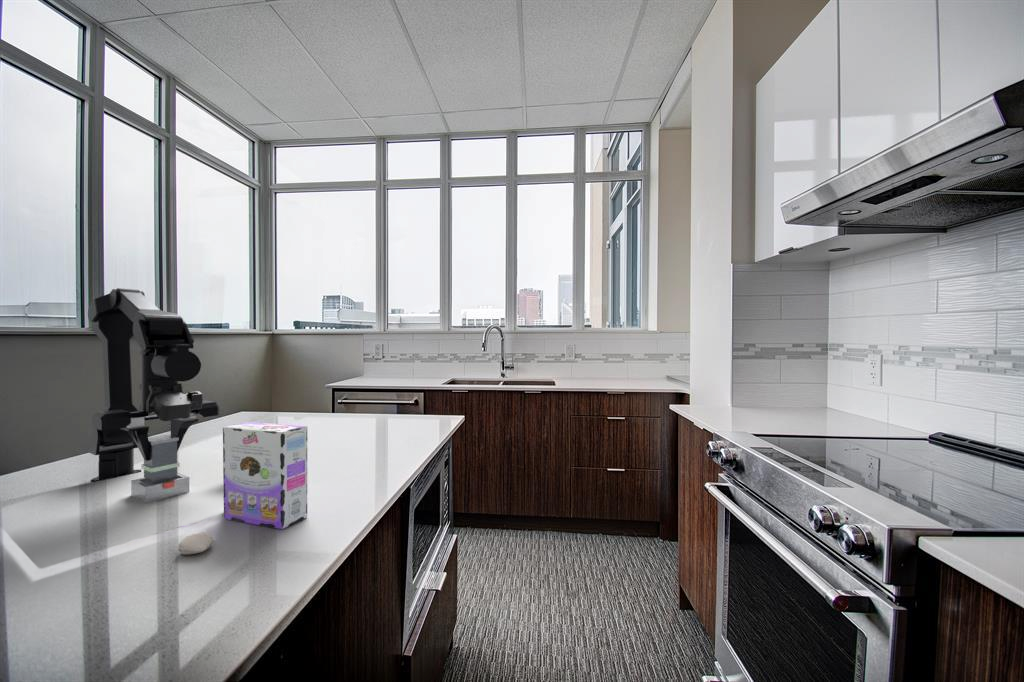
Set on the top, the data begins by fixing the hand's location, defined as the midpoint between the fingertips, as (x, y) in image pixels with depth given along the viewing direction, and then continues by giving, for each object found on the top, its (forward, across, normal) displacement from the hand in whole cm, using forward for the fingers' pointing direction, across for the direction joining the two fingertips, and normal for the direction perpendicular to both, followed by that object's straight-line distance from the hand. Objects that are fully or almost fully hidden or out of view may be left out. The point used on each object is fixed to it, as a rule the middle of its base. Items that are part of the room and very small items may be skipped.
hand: (160, 457), depth 85 cm
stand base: (+8, 0, 0) cm, 8 cm away
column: (+4, 0, 0) cm, 4 cm away
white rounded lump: (+8, -6, -30) cm, 32 cm away
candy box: (+8, +6, -26) cm, 28 cm away
